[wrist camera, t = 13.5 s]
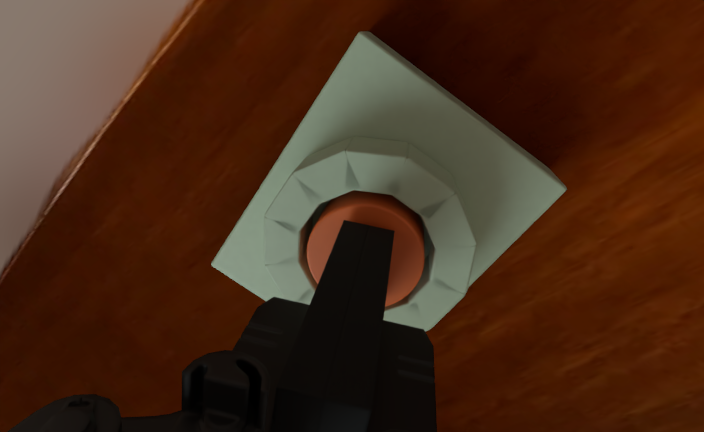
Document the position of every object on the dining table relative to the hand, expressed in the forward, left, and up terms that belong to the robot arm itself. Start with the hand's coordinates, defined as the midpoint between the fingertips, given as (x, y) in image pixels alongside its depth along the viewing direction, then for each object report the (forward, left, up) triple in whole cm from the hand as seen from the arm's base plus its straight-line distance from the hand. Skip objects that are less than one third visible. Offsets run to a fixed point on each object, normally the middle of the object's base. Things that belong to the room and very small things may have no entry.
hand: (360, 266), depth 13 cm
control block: (0, 0, -5) cm, 5 cm away
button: (0, 0, -2) cm, 2 cm away
